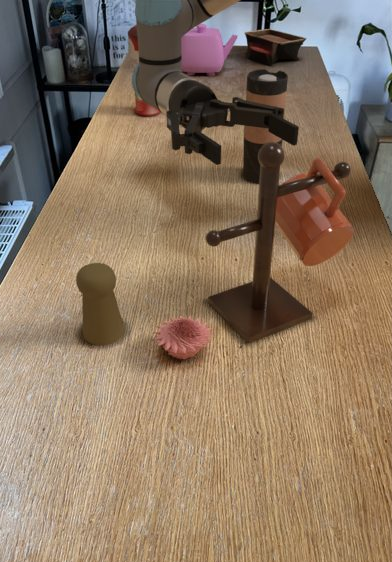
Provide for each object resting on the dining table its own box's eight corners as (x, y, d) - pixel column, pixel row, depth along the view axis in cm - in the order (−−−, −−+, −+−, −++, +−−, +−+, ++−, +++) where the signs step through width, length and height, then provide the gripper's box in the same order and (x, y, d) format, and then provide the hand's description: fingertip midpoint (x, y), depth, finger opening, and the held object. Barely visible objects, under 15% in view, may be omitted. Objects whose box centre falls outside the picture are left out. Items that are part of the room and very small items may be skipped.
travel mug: (252, 189, 117) (259, 83, 104) (235, 173, 122) (239, 71, 109) (286, 181, 119) (296, 78, 106) (267, 167, 125) (275, 66, 111)
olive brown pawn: (123, 318, 86) (116, 254, 79) (127, 345, 82) (119, 279, 74) (82, 323, 85) (70, 258, 78) (83, 350, 81) (71, 284, 74)
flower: (217, 339, 82) (218, 307, 79) (205, 378, 77) (205, 346, 73) (163, 331, 84) (161, 300, 80) (147, 369, 78) (144, 337, 74)
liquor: (130, 111, 150) (120, -16, 132) (157, 107, 152) (151, -19, 134) (139, 121, 145) (129, -10, 126) (167, 117, 147) (161, -13, 128)
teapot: (166, 78, 170) (164, 30, 161) (171, 65, 179) (169, 19, 171) (235, 79, 169) (237, 30, 160) (236, 66, 178) (238, 19, 169)
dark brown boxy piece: (275, 57, 192) (272, 23, 186) (312, 61, 179) (310, 24, 173) (239, 68, 187) (236, 33, 181) (275, 73, 174) (272, 36, 168)
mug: (295, 273, 83) (259, 221, 87) (340, 256, 86) (303, 206, 90) (328, 212, 72) (285, 155, 76) (378, 195, 75) (335, 141, 79)
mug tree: (306, 269, 95) (328, 109, 78) (351, 305, 88) (387, 136, 71) (187, 311, 87) (183, 142, 70) (226, 354, 80) (233, 177, 63)
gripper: (247, 111, 107) (322, 152, 93) (122, 139, 98) (184, 189, 84) (250, 67, 102) (328, 103, 88) (118, 92, 93) (183, 137, 79)
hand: (258, 145), depth 86 cm, fingers open, 13 cm apart
